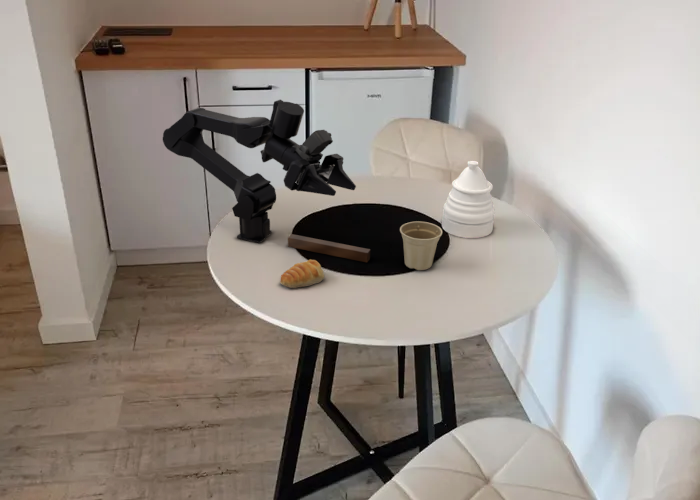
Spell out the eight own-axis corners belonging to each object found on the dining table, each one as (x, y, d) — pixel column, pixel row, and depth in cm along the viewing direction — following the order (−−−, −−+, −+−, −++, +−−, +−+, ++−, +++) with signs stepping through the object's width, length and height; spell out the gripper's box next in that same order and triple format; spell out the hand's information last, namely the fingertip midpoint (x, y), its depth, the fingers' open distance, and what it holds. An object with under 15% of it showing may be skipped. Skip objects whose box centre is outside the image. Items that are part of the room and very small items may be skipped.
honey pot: (488, 241, 166) (497, 172, 158) (436, 233, 169) (442, 165, 161) (495, 220, 177) (504, 154, 168) (447, 213, 180) (453, 148, 172)
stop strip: (287, 246, 161) (287, 237, 160) (291, 243, 163) (291, 233, 162) (367, 262, 155) (367, 253, 154) (370, 258, 157) (370, 249, 156)
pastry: (291, 294, 142) (290, 278, 140) (273, 281, 147) (272, 265, 145) (327, 280, 148) (327, 265, 146) (308, 268, 152) (308, 253, 150)
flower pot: (416, 250, 161) (418, 217, 157) (447, 264, 155) (450, 230, 151) (389, 263, 155) (391, 229, 151) (421, 278, 149) (423, 243, 145)
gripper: (280, 123, 139) (339, 162, 134) (324, 120, 155) (379, 154, 150) (260, 170, 143) (317, 209, 139) (306, 162, 159) (358, 197, 155)
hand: (345, 190), depth 145 cm, fingers open, 9 cm apart
